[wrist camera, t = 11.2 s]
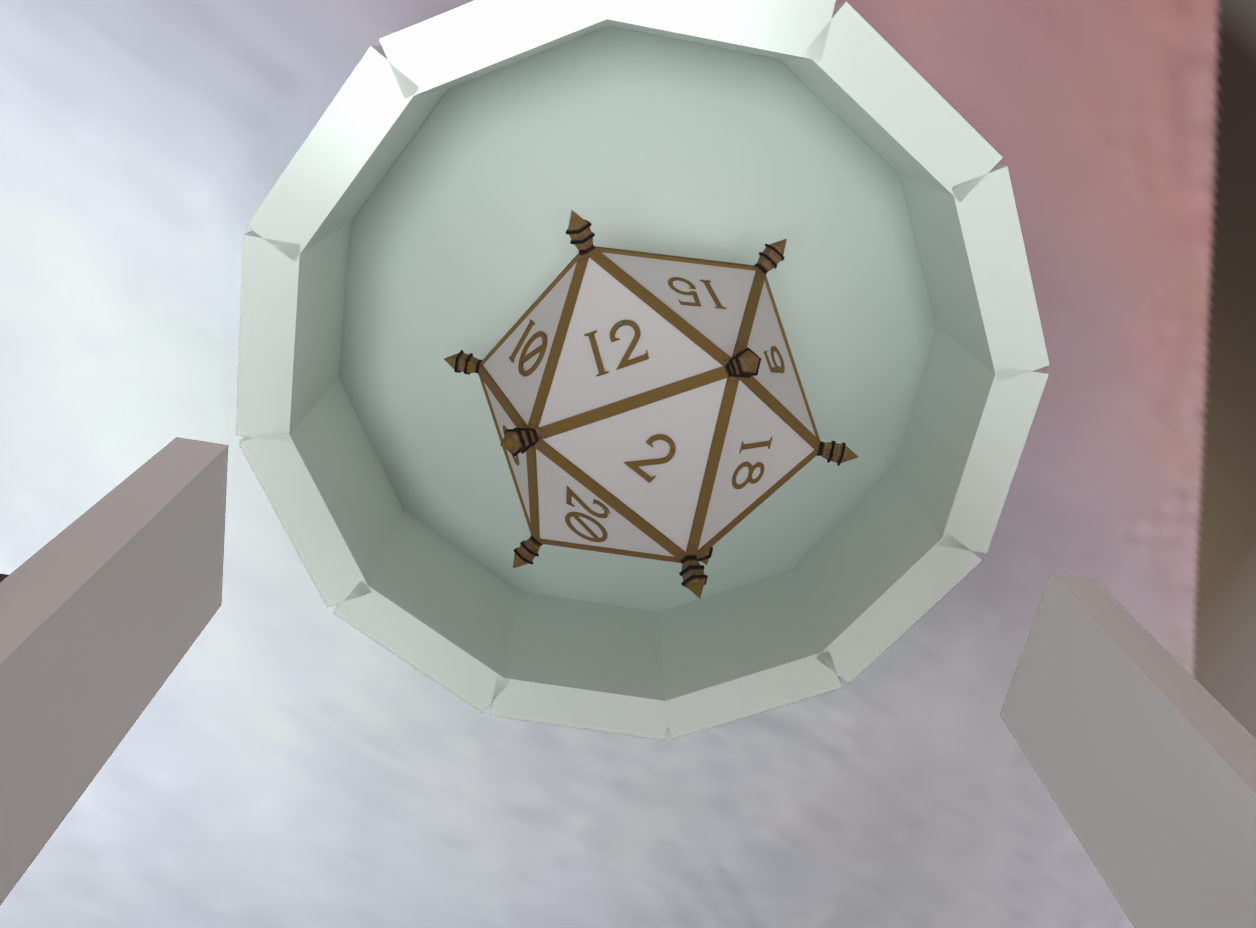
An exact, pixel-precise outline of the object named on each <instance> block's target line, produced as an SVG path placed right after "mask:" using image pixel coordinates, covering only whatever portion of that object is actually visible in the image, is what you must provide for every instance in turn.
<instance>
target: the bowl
mask: <svg viewBox="0 0 1256 928" xmlns="http://www.w3.org/2000/svg"><path fill="white" fill-rule="evenodd" d="M835 2H836V0H474V1H472V2H469V3H467V4H464V5H462V6H460V7H457V8H455V9H452V10H450V11H447V12H445V13H442V14H440V15H437V16H435V17H432V18H430V19H427V20H425V21H422V22H420V23H418V24H415V25H413V26H410V27H408V28H405V29H403V30H400V31H398V32H395V33H393V34H390V35H388V36H385V37H383V38H380V39H379V40H380V43H381V45H382V46H370V48H369V49H368V50H367V52H366V53H365V55H364V56H363V58H362V59H361V61H360V62H359V63H358V65H357V66H356V68H355V69H354V71H353V72H352V74H351V75H350V76H349V78H348V79H347V81H346V82H345V84H344V85H343V86H342V88H341V89H340V91H339V92H338V94H337V95H336V97H335V98H334V99H333V101H332V102H331V104H330V105H329V107H328V108H327V110H326V111H325V112H324V114H323V115H322V117H321V118H320V120H319V121H318V123H317V124H316V125H315V127H314V128H313V130H312V131H311V133H310V134H309V136H308V137H307V138H306V140H305V141H304V143H303V144H302V146H301V147H300V149H299V150H298V151H297V153H296V154H295V156H294V157H293V159H292V160H291V162H290V163H289V164H288V166H287V167H286V169H285V170H284V172H283V173H282V175H281V176H280V177H279V179H278V180H277V182H276V183H275V185H274V186H273V188H272V189H271V190H270V192H269V193H268V195H267V196H266V198H265V199H264V201H263V202H262V203H261V205H260V206H259V208H258V209H257V211H256V212H255V214H254V215H253V216H252V218H251V219H250V221H249V222H248V224H247V225H246V226H248V227H249V228H250V229H252V231H250V232H248V233H246V234H244V235H243V257H242V284H241V312H240V339H239V367H238V394H237V422H236V435H241V436H245V437H244V438H243V439H242V440H241V441H240V442H239V443H238V444H239V446H240V448H241V450H242V451H243V453H244V455H245V457H246V459H247V461H248V462H249V464H250V466H251V468H252V470H253V472H254V473H255V475H256V477H257V479H258V481H259V483H260V485H261V486H262V488H263V490H264V492H265V494H266V496H267V497H268V499H269V501H270V503H271V505H272V507H273V508H274V510H275V512H276V514H277V516H278V518H279V519H280V521H281V523H282V525H283V527H284V529H285V531H286V532H287V534H288V536H289V538H290V540H291V542H292V543H293V545H294V547H295V549H296V551H297V553H298V554H299V556H300V558H301V560H302V562H303V564H304V565H305V567H306V569H307V571H308V573H309V575H310V577H311V578H312V580H313V582H314V584H315V586H316V588H317V589H318V591H319V593H320V595H321V597H322V599H323V600H324V602H325V604H326V606H327V607H330V606H333V605H336V604H338V605H337V607H336V609H335V611H334V613H333V614H334V615H336V616H337V617H339V618H340V619H342V620H343V621H345V622H346V623H348V624H349V625H351V626H352V627H354V628H355V629H357V630H358V631H360V632H361V633H363V634H364V635H366V636H367V637H369V638H370V639H372V640H373V641H375V642H376V643H378V644H379V645H381V646H382V647H384V648H386V649H387V650H389V651H390V652H392V653H393V654H395V655H396V656H398V657H399V658H401V659H402V660H404V661H405V662H407V663H408V664H410V665H411V666H413V667H414V668H416V669H417V670H419V671H420V672H422V673H423V674H425V675H426V676H428V677H429V678H431V679H432V680H434V681H435V682H437V683H438V684H440V685H441V686H443V687H444V688H446V689H447V690H449V691H450V692H452V693H453V694H455V695H456V696H458V697H459V698H461V699H462V700H464V701H465V702H467V703H468V704H470V705H471V706H473V707H474V708H476V709H477V710H479V711H480V712H482V713H483V711H484V710H485V709H486V708H487V707H488V706H489V705H490V704H491V703H492V706H491V712H490V716H496V717H503V718H510V719H517V720H524V721H531V722H539V723H546V724H553V725H560V726H567V727H574V728H582V729H589V730H596V731H603V732H610V733H617V734H625V735H632V736H639V737H646V738H653V739H660V740H665V736H666V731H667V727H668V730H669V732H670V734H671V737H672V739H676V738H679V737H682V736H686V735H689V734H692V733H695V732H699V731H702V730H705V729H708V728H712V727H715V726H718V725H722V724H725V723H728V722H731V721H735V720H738V719H741V718H745V717H748V716H751V715H754V714H758V713H761V712H764V711H767V710H771V709H774V708H777V707H781V706H784V705H787V704H790V703H794V702H797V701H800V700H803V699H807V698H810V697H813V696H817V695H820V694H823V693H826V692H830V691H833V690H836V689H839V688H842V687H841V684H840V681H839V678H838V676H840V677H841V678H842V679H844V680H845V681H846V682H848V683H850V682H851V681H853V680H854V679H855V678H856V677H857V676H858V675H859V674H860V673H861V672H862V671H863V670H864V669H866V668H867V667H868V666H869V665H870V664H871V663H872V662H873V661H874V660H875V659H876V658H877V657H878V656H880V655H881V654H882V653H883V652H884V651H885V650H886V649H887V648H888V647H889V646H890V645H891V644H893V643H894V642H895V641H896V640H897V639H898V638H899V637H900V636H901V635H902V634H903V633H904V632H906V631H907V630H908V629H909V628H910V627H911V626H912V625H913V624H914V623H915V622H916V621H917V620H918V619H920V618H921V617H922V616H923V615H924V614H925V613H926V612H927V611H928V610H929V609H930V608H931V607H933V606H934V605H935V604H936V603H937V602H938V601H939V600H940V599H941V598H942V597H943V596H944V595H945V594H947V593H948V592H949V591H950V590H951V589H952V588H953V587H954V586H955V585H956V584H957V583H958V582H960V581H961V580H962V579H963V578H964V577H965V576H966V575H967V574H968V573H969V572H970V571H971V570H973V569H974V568H975V567H976V566H977V565H978V564H979V563H980V562H981V561H982V560H981V558H980V557H979V556H978V554H977V553H976V552H981V553H987V552H988V549H989V546H990V543H991V540H992V537H993V534H994V531H995V529H996V526H997V523H998V520H999V517H1000V514H1001V511H1002V508H1003V505H1004V503H1005V500H1006V497H1007V494H1008V491H1009V488H1010V485H1011V482H1012V479H1013V477H1014V474H1015V471H1016V468H1017V465H1018V462H1019V459H1020V456H1021V453H1022V451H1023V448H1024V445H1025V442H1026V439H1027V436H1028V433H1029V430H1030V427H1031V425H1032V422H1033V419H1034V416H1035V413H1036V410H1037V407H1038V404H1039V401H1040V399H1041V396H1042V393H1043V390H1044V387H1045V384H1046V381H1047V378H1048V375H1049V374H1048V373H1046V372H1045V371H1044V370H1042V369H1041V368H1043V367H1046V366H1049V360H1048V355H1047V351H1046V346H1045V341H1044V336H1043V332H1042V327H1041V322H1040V318H1039V313H1038V308H1037V303H1036V299H1035V294H1034V289H1033V285H1032V280H1031V275H1030V270H1029V266H1028V261H1027V256H1026V252H1025V247H1024V242H1023V237H1022V233H1021V228H1020V223H1019V218H1018V214H1017V209H1016V204H1015V200H1014V195H1013V190H1012V185H1011V181H1010V176H1009V171H1008V167H1007V166H1004V165H1001V164H997V163H998V162H999V161H1000V160H1001V159H1002V158H1003V157H1002V156H1001V155H1000V154H999V153H998V152H997V151H996V150H995V149H994V148H993V147H992V146H991V145H990V144H989V143H988V142H987V141H986V140H985V139H984V138H983V137H982V136H981V135H980V134H979V133H978V132H977V131H976V130H975V129H974V128H973V127H972V126H971V125H970V124H969V123H968V122H967V121H966V120H965V119H964V118H963V117H962V116H961V115H960V114H959V113H958V112H957V111H956V110H955V109H954V108H953V107H952V106H951V105H950V104H949V103H948V102H946V101H945V100H944V99H943V98H942V97H941V96H940V95H939V94H938V93H937V92H936V91H935V90H934V89H933V88H932V87H931V86H930V85H929V84H928V83H927V82H926V81H925V80H924V79H923V78H922V77H921V76H920V75H919V74H918V73H917V72H916V71H915V70H914V69H913V68H912V67H911V66H910V65H909V64H908V63H907V62H906V61H905V60H904V59H903V58H902V57H901V56H900V55H899V54H898V53H897V52H896V51H895V50H894V49H893V48H892V47H891V46H890V45H889V44H888V43H887V42H886V41H885V40H884V39H883V38H882V37H881V36H880V35H879V34H878V33H877V32H876V31H875V30H874V29H873V28H872V27H871V26H870V25H869V24H868V23H867V22H866V21H865V20H864V19H863V18H862V17H861V16H860V15H859V14H858V13H857V12H856V11H855V10H854V9H853V8H852V7H851V6H850V5H849V4H848V3H847V2H842V3H838V4H835ZM571 210H573V211H574V212H575V213H577V214H578V215H579V216H580V217H581V218H583V219H584V220H587V221H589V222H590V223H591V224H592V226H590V229H591V232H593V233H594V234H595V236H594V237H593V245H594V246H597V247H605V248H614V249H622V250H630V251H639V252H647V253H655V254H664V255H672V256H680V257H689V258H697V259H706V260H714V261H722V262H731V263H739V264H747V265H755V264H756V263H757V261H758V259H759V257H760V255H759V252H761V253H762V252H763V250H764V249H765V248H766V246H765V244H768V245H769V244H772V243H775V242H778V241H781V240H784V239H787V241H786V245H785V250H784V254H783V256H784V257H785V258H784V260H783V261H780V262H779V263H778V264H777V268H776V269H775V268H773V269H771V270H770V271H768V272H767V274H766V276H767V279H768V282H769V286H770V289H771V292H772V295H773V298H774V301H775V304H776V307H777V310H778V313H779V316H780V319H781V322H782V325H783V328H784V331H785V334H786V337H787V340H788V344H789V347H790V350H791V353H792V356H793V359H794V362H795V365H796V368H797V371H798V374H799V377H800V380H801V383H802V386H803V389H804V392H805V395H806V398H807V402H808V405H809V408H810V411H811V414H812V417H813V420H814V423H815V426H816V429H817V432H818V435H819V438H820V441H822V442H831V441H836V442H835V443H839V444H842V442H843V443H846V446H847V447H848V448H849V449H851V450H852V451H853V452H854V453H855V454H856V455H857V456H858V458H855V459H852V460H849V461H846V462H843V463H840V466H838V465H837V463H836V462H832V461H830V463H828V462H827V459H825V458H823V457H822V456H816V457H814V458H813V459H812V460H811V461H810V462H809V463H808V464H806V465H805V466H804V467H803V468H802V469H801V470H799V471H798V472H797V473H796V474H795V475H794V476H793V477H791V478H790V479H789V480H788V481H787V482H786V483H785V484H783V485H782V486H781V487H780V488H779V489H778V490H776V491H775V492H774V493H773V494H772V495H771V496H770V497H768V498H767V499H766V500H765V501H764V502H763V503H762V504H760V505H759V506H758V507H757V508H756V509H755V510H753V511H752V512H751V513H750V514H749V515H748V516H747V517H745V518H744V519H743V520H742V521H741V522H740V523H739V524H737V525H736V526H735V527H734V528H733V529H732V530H731V531H729V532H728V533H727V534H726V535H725V536H724V537H722V538H721V539H720V540H719V541H718V542H717V543H716V544H714V545H713V546H712V547H713V551H712V555H711V558H709V560H708V564H707V565H706V564H704V563H702V562H701V561H699V563H700V565H704V571H703V572H704V575H707V576H708V578H707V582H706V585H704V586H703V590H702V594H701V598H700V599H699V598H698V597H697V596H696V595H695V594H694V593H693V592H692V591H691V590H689V589H688V588H686V587H684V586H682V584H681V583H682V582H683V577H682V576H680V574H679V573H680V572H681V571H682V563H676V562H669V561H662V560H654V559H647V558H640V557H633V556H625V555H618V554H611V553H604V552H597V551H589V550H582V549H575V548H568V547H560V546H553V545H546V544H543V545H542V546H540V549H539V551H538V554H539V556H538V557H537V556H535V558H534V559H533V561H532V562H533V564H532V565H531V564H526V565H523V566H519V567H516V568H513V561H514V554H515V552H514V551H513V550H514V549H516V548H519V547H520V545H521V544H520V543H521V542H522V541H524V540H525V541H526V540H528V539H529V538H530V536H531V533H530V530H529V527H528V524H527V521H526V518H525V515H524V512H523V509H522V505H521V502H520V499H519V496H518V493H517V490H516V487H515V484H514V481H513V478H512V475H511V472H510V469H509V466H508V463H507V460H506V457H505V454H504V451H503V448H502V446H500V444H501V442H500V439H499V436H498V432H497V429H496V426H495V423H494V420H493V417H492V414H491V411H490V408H489V405H488V402H487V399H486V396H485V393H484V390H483V387H482V384H481V381H480V378H479V375H478V374H477V373H470V375H468V374H464V372H461V373H457V372H454V369H453V368H452V367H451V366H450V365H449V364H448V363H447V362H446V361H445V360H444V358H447V357H449V356H452V355H455V354H457V353H460V351H461V350H463V352H464V353H465V354H470V353H473V356H474V357H475V358H477V359H479V360H483V359H484V358H485V357H486V356H487V354H488V353H489V352H490V351H491V350H492V349H493V348H494V347H495V346H496V344H497V343H498V342H499V341H500V340H501V339H502V338H503V337H504V335H505V334H506V333H507V332H508V331H509V330H510V329H511V328H512V327H513V325H514V324H515V323H516V322H517V321H518V320H519V319H520V318H521V317H522V315H523V314H524V313H525V312H526V311H527V310H528V309H529V308H530V306H531V305H532V304H533V303H534V302H535V301H536V300H537V299H538V298H539V296H540V295H541V294H542V293H543V292H544V291H545V290H546V289H547V287H548V286H549V285H550V284H551V283H552V282H553V281H554V280H555V279H556V277H557V276H558V275H559V274H560V273H561V272H562V271H563V270H564V269H565V267H566V266H567V265H568V264H569V263H570V262H571V261H572V260H573V258H574V257H575V256H576V255H577V254H578V253H579V250H578V249H577V247H576V246H575V245H574V244H571V243H570V241H571V238H570V236H569V234H566V233H565V232H566V230H567V229H568V226H569V221H570V216H571ZM512 568H513V569H512Z"/></svg>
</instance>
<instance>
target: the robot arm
mask: <svg viewBox="0 0 1256 928" xmlns="http://www.w3.org/2000/svg"><path fill="white" fill-rule="evenodd" d="M227 461H228V445H223V444H217V443H210V442H204V441H197V440H191V439H184V438H178V437H176V438H175V439H174V440H173V441H171V442H170V443H169V444H168V445H167V446H165V447H164V448H163V449H162V450H160V451H159V452H158V453H157V454H156V455H154V456H153V457H152V458H151V459H150V460H148V461H147V462H146V463H145V464H144V465H142V466H141V467H140V468H139V469H137V470H136V471H135V472H134V473H133V474H131V475H130V476H129V477H128V478H127V479H125V480H124V481H123V482H122V483H120V484H119V485H118V486H117V487H116V488H114V489H113V490H112V491H111V492H110V493H108V494H107V495H106V496H105V497H103V498H102V499H101V500H100V501H99V502H97V503H96V504H95V505H94V506H93V507H91V508H90V509H89V510H88V511H86V512H85V513H84V514H83V515H82V516H80V517H79V518H78V519H77V520H76V521H74V522H73V523H72V524H71V525H69V526H68V527H67V528H66V529H65V530H63V531H62V532H61V533H60V534H59V535H57V536H56V537H55V538H54V539H52V540H51V541H50V542H49V543H48V544H46V545H45V546H44V547H43V548H42V549H40V550H39V551H38V552H37V553H36V554H34V555H33V556H32V557H31V558H29V559H28V560H27V561H26V562H25V563H23V564H22V565H21V566H20V567H19V568H17V569H16V570H15V571H14V572H12V573H11V574H10V575H5V574H0V905H1V904H2V902H3V901H4V900H5V898H6V897H7V896H8V894H9V893H10V892H11V890H12V889H13V888H14V886H15V885H16V883H17V882H18V881H19V879H20V878H21V877H22V875H23V874H24V873H25V871H26V870H27V868H28V867H29V866H30V864H31V863H32V862H33V860H34V859H35V858H36V856H37V855H38V854H39V852H40V851H41V849H42V848H43V847H44V845H45V844H46V843H47V841H48V840H49V839H50V837H51V836H52V834H53V833H54V832H55V830H56V829H57V828H58V826H59V825H60V824H61V822H62V821H63V820H64V818H65V817H66V815H67V814H68V813H69V811H70V810H71V809H72V807H73V806H74V805H75V803H76V802H77V800H78V799H79V798H80V796H81V795H82V794H83V792H84V791H85V790H86V788H87V787H88V786H89V784H90V783H91V781H92V780H93V779H94V777H95V776H96V775H97V773H98V772H99V771H100V769H101V768H102V766H103V765H104V764H105V762H106V761H107V760H108V758H109V757H110V756H111V754H112V753H113V752H114V750H115V749H116V747H117V746H118V745H119V743H120V742H121V741H122V739H123V738H124V737H125V735H126V734H127V732H128V731H129V730H130V728H131V727H132V726H133V724H134V723H135V722H136V720H137V719H138V718H139V716H140V715H141V713H142V712H143V711H144V709H145V708H146V707H147V705H148V704H149V703H150V701H151V700H152V698H153V697H154V696H155V694H156V693H157V692H158V690H159V689H160V688H161V686H162V685H163V684H164V682H165V681H166V679H167V678H168V677H169V675H170V674H171V673H172V671H173V670H174V669H175V667H176V666H177V664H178V663H179V662H180V660H181V659H182V658H183V656H184V655H185V654H186V652H187V651H188V650H189V648H190V647H191V645H192V644H193V643H194V641H195V640H196V639H197V637H198V636H199V635H200V633H201V632H202V630H203V629H204V628H205V626H206V625H207V624H208V622H209V621H210V620H211V618H212V617H213V615H214V614H215V613H216V611H217V610H218V609H219V607H220V606H221V602H222V579H223V555H224V532H225V508H226V485H227ZM1000 716H1001V717H1002V719H1003V721H1004V722H1005V724H1006V725H1007V727H1008V728H1009V730H1010V732H1011V733H1012V735H1013V736H1014V738H1015V740H1016V741H1017V743H1018V744H1019V746H1020V747H1021V749H1022V751H1023V752H1024V754H1025V755H1026V757H1027V759H1028V760H1029V762H1030V763H1031V765H1032V766H1033V768H1034V770H1035V771H1036V773H1037V774H1038V776H1039V778H1040V779H1041V781H1042V782H1043V784H1044V785H1045V787H1046V789H1047V790H1048V792H1049V793H1050V795H1051V797H1052V798H1053V800H1054V801H1055V803H1056V804H1057V806H1058V808H1059V809H1060V811H1061V812H1062V814H1063V816H1064V817H1065V819H1066V820H1067V822H1068V823H1069V825H1070V827H1071V828H1072V830H1073V831H1074V833H1075V835H1076V836H1077V838H1078V839H1079V841H1080V842H1081V844H1082V846H1083V847H1084V849H1085V850H1086V852H1087V854H1088V855H1089V857H1090V858H1091V860H1092V861H1093V863H1094V865H1095V866H1096V868H1097V869H1098V871H1099V873H1100V874H1101V876H1102V877H1103V879H1104V880H1105V882H1106V884H1107V885H1108V887H1109V888H1110V890H1111V892H1112V893H1113V895H1114V896H1115V898H1116V899H1117V901H1118V903H1119V904H1120V906H1121V907H1122V909H1123V911H1124V912H1125V914H1126V915H1127V917H1128V918H1129V920H1130V922H1131V923H1132V925H1133V926H1134V928H1256V739H1255V738H1254V737H1253V736H1252V735H1251V734H1250V733H1249V732H1248V731H1246V729H1244V727H1243V726H1242V725H1241V724H1240V723H1239V722H1238V721H1237V720H1236V719H1235V718H1234V717H1233V716H1232V715H1231V714H1230V713H1229V712H1228V711H1227V710H1226V709H1225V708H1224V707H1223V706H1222V705H1221V704H1220V703H1219V702H1218V701H1217V700H1216V699H1215V698H1214V697H1213V696H1212V695H1211V694H1210V693H1209V692H1208V691H1207V690H1206V689H1205V688H1204V687H1203V686H1202V685H1201V684H1200V683H1199V682H1198V681H1197V680H1196V679H1195V678H1194V677H1193V676H1192V675H1191V674H1190V673H1189V672H1188V671H1187V670H1186V669H1185V668H1184V667H1183V666H1182V665H1181V664H1180V663H1179V662H1178V661H1177V660H1176V659H1175V658H1174V657H1173V656H1172V655H1171V654H1170V653H1169V652H1168V651H1167V650H1166V649H1165V648H1164V647H1163V646H1162V645H1161V644H1160V643H1159V642H1158V641H1157V640H1156V639H1155V638H1154V637H1153V636H1152V635H1151V634H1150V633H1149V632H1148V631H1147V630H1146V629H1145V628H1144V627H1143V626H1142V625H1141V624H1140V623H1139V622H1138V621H1137V620H1136V619H1135V618H1134V617H1133V616H1132V615H1131V614H1130V613H1129V612H1128V611H1127V610H1126V609H1125V608H1124V607H1123V606H1122V605H1121V604H1120V603H1119V602H1118V601H1117V600H1116V599H1115V598H1114V597H1113V596H1112V595H1111V594H1110V593H1109V592H1108V591H1107V590H1106V589H1105V588H1104V587H1103V586H1102V585H1101V584H1100V583H1099V582H1098V581H1097V580H1096V579H1089V578H1083V577H1077V576H1070V575H1064V574H1057V573H1051V574H1050V577H1049V580H1048V583H1047V586H1046V588H1045V591H1044V594H1043V597H1042V600H1041V602H1040V605H1039V608H1038V611H1037V613H1036V616H1035V619H1034V622H1033V625H1032V627H1031V630H1030V633H1029V636H1028V639H1027V641H1026V644H1025V647H1024V650H1023V652H1022V655H1021V658H1020V661H1019V664H1018V666H1017V669H1016V672H1015V675H1014V678H1013V680H1012V683H1011V686H1010V689H1009V691H1008V694H1007V697H1006V700H1005V703H1004V705H1003V708H1002V711H1001V714H1000Z"/></svg>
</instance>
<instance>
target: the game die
mask: <svg viewBox="0 0 1256 928" xmlns="http://www.w3.org/2000/svg"><path fill="white" fill-rule="evenodd" d="M590 226H592V224H591V223H590V222H589V221H587V220H584V219H583V218H581V217H580V216H579V215H578V214H577V213H575V212H574V211H573V210H571V216H570V221H569V226H568V229H567V230H566V232H565V233H566V234H569V236H570V238H571V241H570V243H571V244H574V245H575V246H576V247H577V249H578V250H579V253H578V254H577V255H576V256H575V257H574V258H573V260H572V261H571V262H570V263H569V264H568V265H567V266H566V267H565V269H564V270H563V271H562V272H561V273H560V274H559V275H558V276H557V277H556V279H555V280H554V281H553V282H552V283H551V284H550V285H549V286H548V287H547V289H546V290H545V291H544V292H543V293H542V294H541V295H540V296H539V298H538V299H537V300H536V301H535V302H534V303H533V304H532V305H531V306H530V308H529V309H528V310H527V311H526V312H525V313H524V314H523V315H522V317H521V318H520V319H519V320H518V321H517V322H516V323H515V324H514V325H513V327H512V328H511V329H510V330H509V331H508V332H507V333H506V334H505V335H504V337H503V338H502V339H501V340H500V341H499V342H498V343H497V344H496V346H495V347H494V348H493V349H492V350H491V351H490V352H489V353H488V354H487V356H486V357H485V358H484V359H483V360H479V359H477V358H475V357H474V356H473V353H470V354H465V353H464V352H463V350H461V351H460V353H457V354H455V355H452V356H449V357H447V358H444V360H445V361H446V362H447V363H448V364H449V365H450V366H451V367H452V368H453V369H454V372H457V373H461V372H464V374H468V375H470V373H477V374H478V375H479V378H480V381H481V384H482V387H483V390H484V393H485V396H486V399H487V402H488V405H489V408H490V411H491V414H492V417H493V420H494V423H495V426H496V429H497V432H498V436H499V439H500V442H501V444H500V446H502V448H503V451H504V454H505V457H506V460H507V463H508V466H509V469H510V472H511V475H512V478H513V481H514V484H515V487H516V490H517V493H518V496H519V499H520V502H521V505H522V509H523V512H524V515H525V518H526V521H527V524H528V527H529V530H530V533H531V536H530V538H529V539H528V540H526V541H525V540H524V541H522V542H521V543H520V544H521V545H520V547H519V548H516V549H514V550H513V551H514V552H515V554H514V561H513V568H516V567H519V566H523V565H526V564H531V565H532V564H533V562H532V561H533V559H534V558H535V556H537V557H538V556H539V554H538V551H539V549H540V546H542V545H543V544H546V545H553V546H560V547H568V548H575V549H582V550H589V551H597V552H604V553H611V554H618V555H625V556H633V557H640V558H647V559H654V560H662V561H669V562H676V563H682V571H681V572H680V573H679V574H680V576H682V577H683V582H682V583H681V584H682V586H684V587H686V588H688V589H689V590H691V591H692V592H693V593H694V594H695V595H696V596H697V597H698V598H699V599H700V598H701V594H702V590H703V586H704V585H706V582H707V578H708V576H707V575H704V572H703V571H704V565H700V563H699V561H701V562H702V563H704V564H706V565H707V564H708V560H709V558H711V555H712V551H713V547H712V546H713V545H714V544H716V543H717V542H718V541H719V540H720V539H721V538H722V537H724V536H725V535H726V534H727V533H728V532H729V531H731V530H732V529H733V528H734V527H735V526H736V525H737V524H739V523H740V522H741V521H742V520H743V519H744V518H745V517H747V516H748V515H749V514H750V513H751V512H752V511H753V510H755V509H756V508H757V507H758V506H759V505H760V504H762V503H763V502H764V501H765V500H766V499H767V498H768V497H770V496H771V495H772V494H773V493H774V492H775V491H776V490H778V489H779V488H780V487H781V486H782V485H783V484H785V483H786V482H787V481H788V480H789V479H790V478H791V477H793V476H794V475H795V474H796V473H797V472H798V471H799V470H801V469H802V468H803V467H804V466H805V465H806V464H808V463H809V462H810V461H811V460H812V459H813V458H814V457H816V456H822V457H823V458H825V459H827V462H828V463H830V461H832V462H836V463H837V465H838V466H840V463H843V462H846V461H849V460H852V459H855V458H858V456H857V455H856V454H855V453H854V452H853V451H852V450H851V449H849V448H848V447H847V446H846V443H843V442H842V444H839V443H835V442H836V441H831V442H822V441H820V438H819V435H818V432H817V429H816V426H815V423H814V420H813V417H812V414H811V411H810V408H809V405H808V402H807V398H806V395H805V392H804V389H803V386H802V383H801V380H800V377H799V374H798V371H797V368H796V365H795V362H794V359H793V356H792V353H791V350H790V347H789V344H788V340H787V337H786V334H785V331H784V328H783V325H782V322H781V319H780V316H779V313H778V310H777V307H776V304H775V301H774V298H773V295H772V292H771V289H770V286H769V282H768V279H767V276H766V274H767V272H768V271H770V270H771V269H773V268H775V269H776V268H777V264H778V263H779V262H780V261H783V260H784V258H785V257H784V256H783V254H784V250H785V245H786V241H787V239H784V240H781V241H778V242H775V243H772V244H769V245H768V244H765V246H766V248H765V249H764V250H763V252H762V253H761V252H759V255H760V257H759V259H758V261H757V263H756V264H755V265H747V264H739V263H731V262H722V261H714V260H706V259H697V258H689V257H680V256H672V255H664V254H655V253H647V252H639V251H630V250H622V249H614V248H605V247H597V246H594V245H593V237H594V236H595V234H594V233H593V232H591V229H590ZM513 568H512V569H513Z"/></svg>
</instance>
